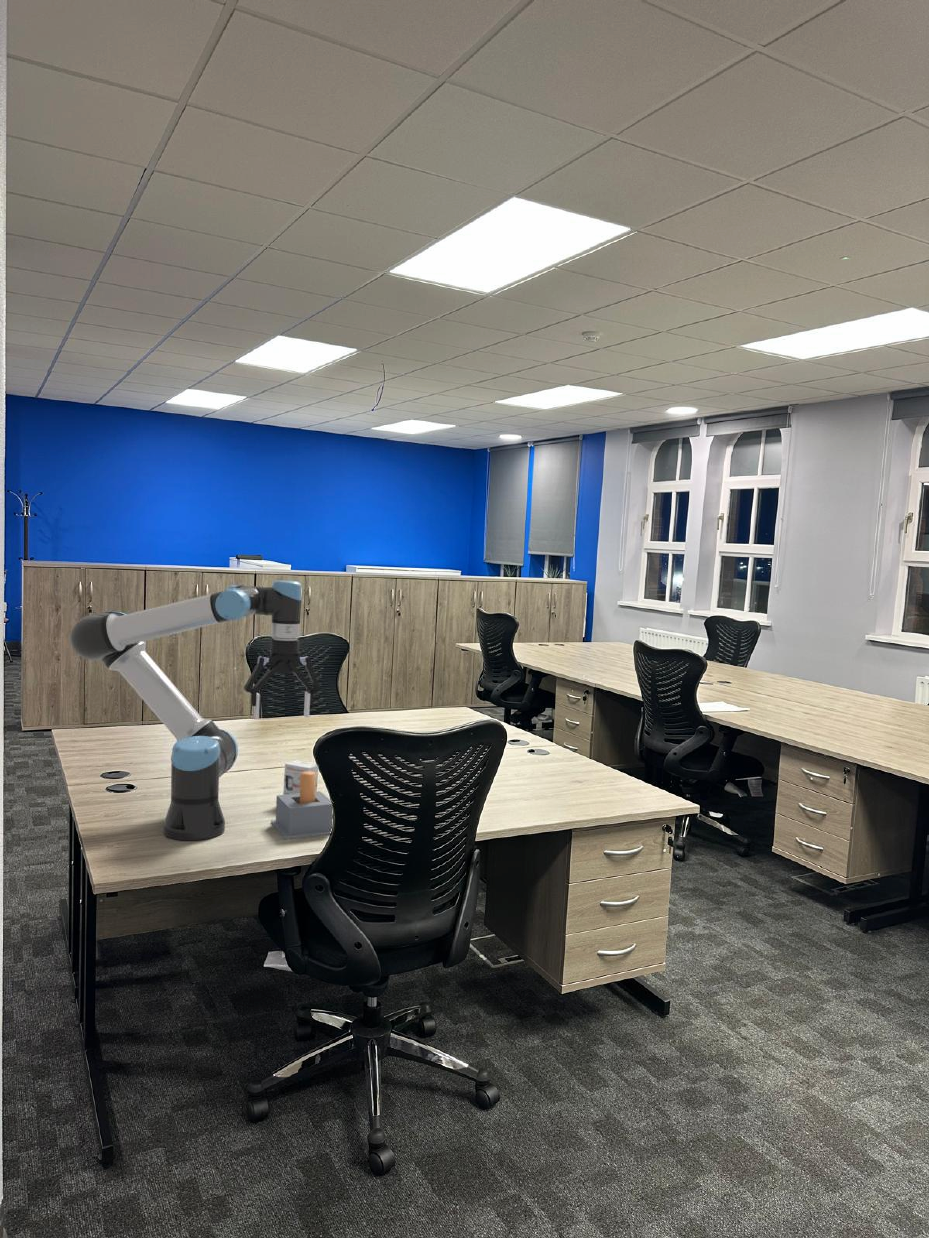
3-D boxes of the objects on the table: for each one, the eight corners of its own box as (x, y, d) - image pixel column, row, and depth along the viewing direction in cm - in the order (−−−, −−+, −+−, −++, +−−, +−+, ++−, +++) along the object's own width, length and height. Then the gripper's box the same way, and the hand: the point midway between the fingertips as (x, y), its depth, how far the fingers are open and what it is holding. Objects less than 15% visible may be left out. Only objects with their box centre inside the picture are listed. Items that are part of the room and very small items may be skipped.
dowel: (301, 828, 229) (302, 775, 228) (297, 823, 232) (298, 771, 231) (316, 826, 231) (317, 774, 230) (311, 821, 234) (313, 770, 233)
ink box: (281, 803, 251) (283, 763, 250) (292, 799, 255) (293, 759, 254) (307, 809, 247) (308, 768, 246) (317, 804, 252) (318, 764, 251)
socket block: (286, 839, 222) (287, 809, 221) (271, 822, 234) (271, 794, 234) (338, 832, 229) (339, 804, 228) (321, 816, 241) (322, 789, 240)
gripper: (240, 640, 225) (237, 721, 227) (334, 640, 235) (330, 718, 237) (234, 636, 231) (231, 715, 233) (326, 637, 242) (322, 713, 244)
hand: (281, 717), depth 235 cm, fingers open, 13 cm apart
